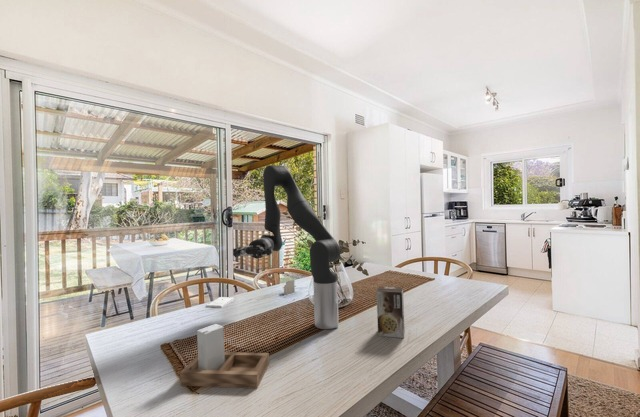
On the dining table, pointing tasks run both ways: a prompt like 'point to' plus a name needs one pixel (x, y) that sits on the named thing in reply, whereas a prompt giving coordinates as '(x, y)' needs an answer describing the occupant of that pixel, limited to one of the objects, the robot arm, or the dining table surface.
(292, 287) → the architectural model
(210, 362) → the skincare box
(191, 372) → the wooden compartment tray
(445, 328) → the dining table surface
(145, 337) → the dining table surface
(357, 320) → the dining table surface
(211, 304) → the external hard drive
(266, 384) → the dining table surface
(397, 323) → the grey brown upright block
